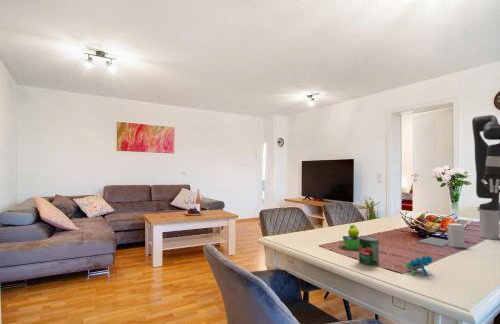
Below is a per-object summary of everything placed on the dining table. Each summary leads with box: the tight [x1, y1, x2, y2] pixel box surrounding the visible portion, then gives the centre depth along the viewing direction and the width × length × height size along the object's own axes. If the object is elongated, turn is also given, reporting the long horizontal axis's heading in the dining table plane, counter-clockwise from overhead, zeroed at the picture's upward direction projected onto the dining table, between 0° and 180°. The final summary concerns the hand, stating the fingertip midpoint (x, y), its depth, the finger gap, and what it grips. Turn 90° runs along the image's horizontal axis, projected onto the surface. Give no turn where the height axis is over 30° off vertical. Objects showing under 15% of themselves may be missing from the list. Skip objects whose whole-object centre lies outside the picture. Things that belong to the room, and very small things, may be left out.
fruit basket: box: [341, 224, 360, 251], centre depth 143 cm, size 11×9×11 cm
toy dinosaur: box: [404, 255, 434, 276], centre depth 108 cm, size 11×6×10 cm
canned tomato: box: [358, 235, 380, 267], centre depth 119 cm, size 8×8×11 cm
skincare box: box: [447, 223, 466, 249], centre depth 148 cm, size 6×4×12 cm
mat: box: [417, 236, 449, 248], centre depth 156 cm, size 18×12×1 cm, turn 125°
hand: (493, 200), depth 137 cm, fingers closed
